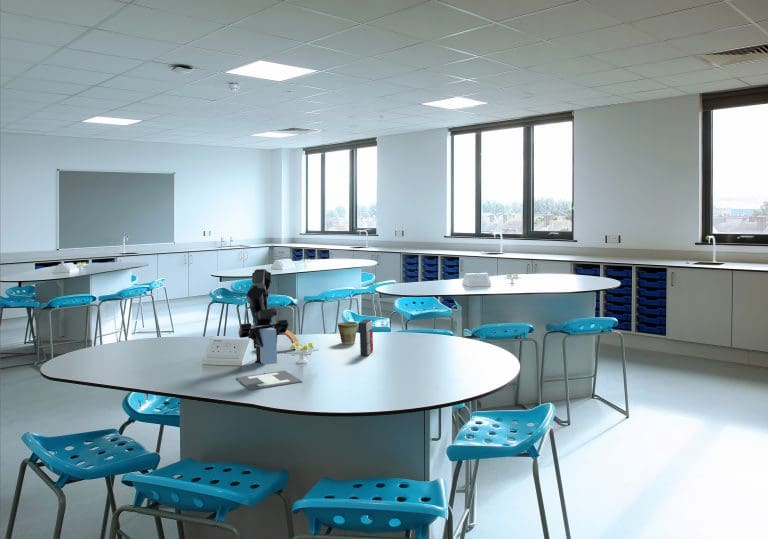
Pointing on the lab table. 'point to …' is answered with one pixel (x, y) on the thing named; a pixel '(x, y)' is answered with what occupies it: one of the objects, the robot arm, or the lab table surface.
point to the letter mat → (268, 380)
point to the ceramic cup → (347, 332)
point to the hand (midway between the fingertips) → (269, 346)
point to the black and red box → (366, 337)
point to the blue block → (268, 346)
